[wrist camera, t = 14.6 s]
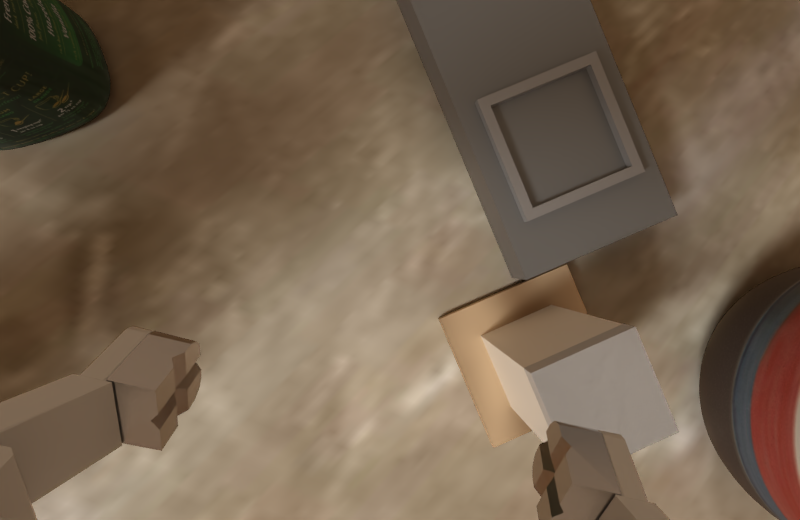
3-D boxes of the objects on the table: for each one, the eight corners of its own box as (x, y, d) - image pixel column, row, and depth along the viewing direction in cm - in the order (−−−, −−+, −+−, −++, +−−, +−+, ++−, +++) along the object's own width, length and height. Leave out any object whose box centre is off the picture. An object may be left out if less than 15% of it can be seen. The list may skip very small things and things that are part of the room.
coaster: (491, 444, 31) (493, 447, 31) (438, 317, 31) (439, 319, 30) (615, 389, 32) (619, 391, 31) (563, 264, 31) (567, 264, 31)
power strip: (512, 277, 31) (530, 280, 27) (345, -124, 31) (340, -178, 27) (649, 219, 32) (686, 213, 28) (487, -179, 31) (502, -239, 27)
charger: (510, 407, 31) (575, 479, 21) (480, 335, 31) (530, 373, 21) (581, 375, 31) (679, 431, 21) (551, 304, 31) (635, 326, 21)
